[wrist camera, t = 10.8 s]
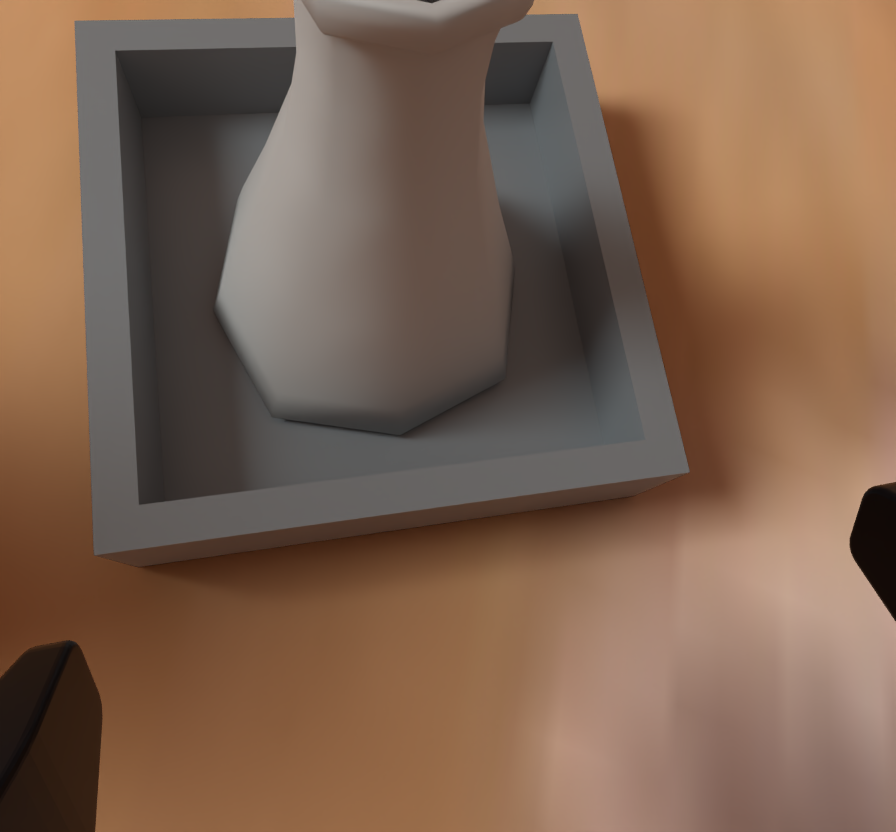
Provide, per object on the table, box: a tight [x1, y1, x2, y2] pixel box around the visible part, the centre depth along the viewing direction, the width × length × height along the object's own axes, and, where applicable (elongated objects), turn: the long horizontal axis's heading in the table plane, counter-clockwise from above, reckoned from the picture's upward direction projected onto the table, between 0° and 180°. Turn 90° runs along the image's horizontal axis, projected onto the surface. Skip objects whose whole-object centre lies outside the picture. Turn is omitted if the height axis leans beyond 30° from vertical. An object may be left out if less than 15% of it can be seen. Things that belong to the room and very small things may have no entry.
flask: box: [213, 0, 534, 435], centre depth 13 cm, size 7×7×10 cm
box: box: [75, 14, 690, 567], centre depth 17 cm, size 12×12×3 cm
